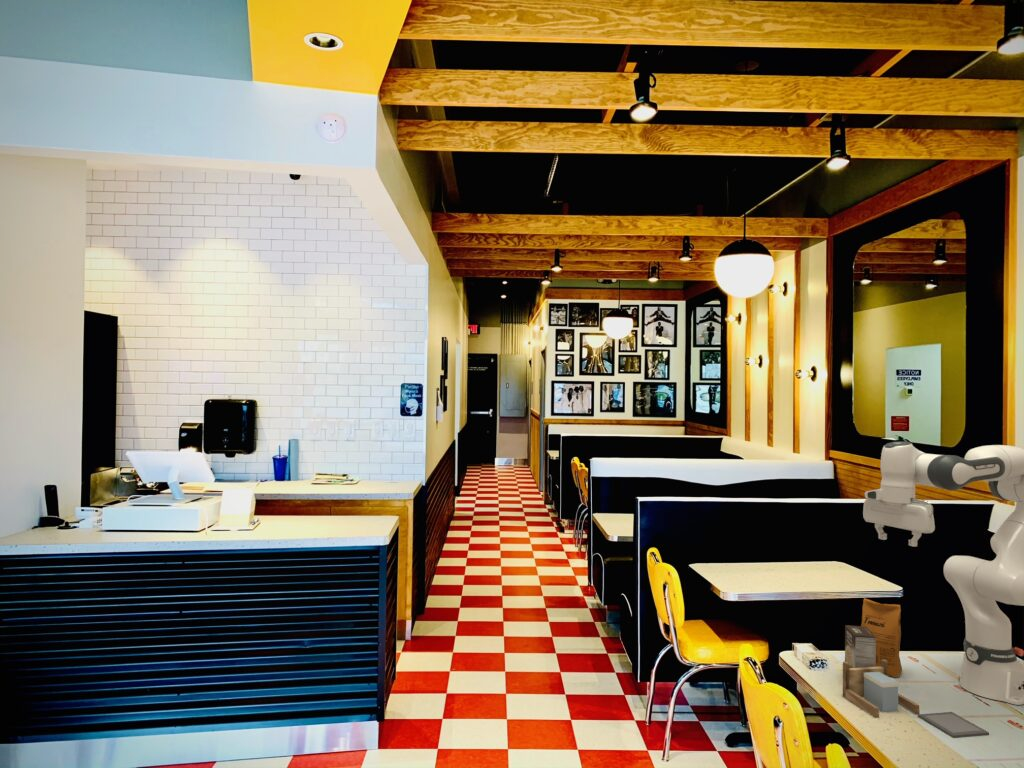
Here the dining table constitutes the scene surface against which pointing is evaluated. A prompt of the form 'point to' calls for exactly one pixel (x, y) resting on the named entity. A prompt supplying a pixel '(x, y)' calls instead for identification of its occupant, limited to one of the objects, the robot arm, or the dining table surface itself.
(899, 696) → the wooden stand
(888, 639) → the coffee package
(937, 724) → the mat
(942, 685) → the dining table surface
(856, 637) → the coffee box
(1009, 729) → the dining table surface
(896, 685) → the block
